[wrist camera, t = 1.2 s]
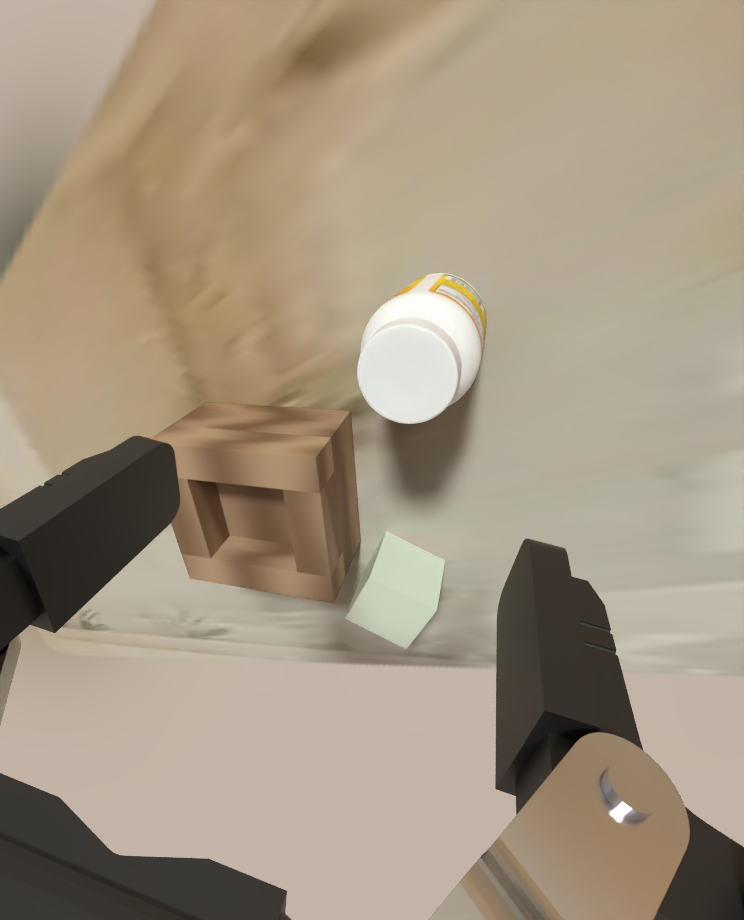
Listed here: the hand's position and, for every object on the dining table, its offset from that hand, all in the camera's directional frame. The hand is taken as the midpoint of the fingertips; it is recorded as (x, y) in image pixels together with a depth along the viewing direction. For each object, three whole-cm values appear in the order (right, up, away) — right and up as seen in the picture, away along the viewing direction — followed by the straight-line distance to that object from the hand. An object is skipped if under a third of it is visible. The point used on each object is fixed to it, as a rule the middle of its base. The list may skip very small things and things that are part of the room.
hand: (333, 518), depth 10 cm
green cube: (+3, -7, +25) cm, 26 cm away
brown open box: (-6, 0, +23) cm, 24 cm away
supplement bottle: (+5, +9, +15) cm, 18 cm away
